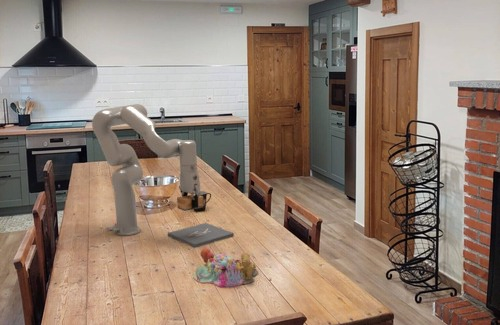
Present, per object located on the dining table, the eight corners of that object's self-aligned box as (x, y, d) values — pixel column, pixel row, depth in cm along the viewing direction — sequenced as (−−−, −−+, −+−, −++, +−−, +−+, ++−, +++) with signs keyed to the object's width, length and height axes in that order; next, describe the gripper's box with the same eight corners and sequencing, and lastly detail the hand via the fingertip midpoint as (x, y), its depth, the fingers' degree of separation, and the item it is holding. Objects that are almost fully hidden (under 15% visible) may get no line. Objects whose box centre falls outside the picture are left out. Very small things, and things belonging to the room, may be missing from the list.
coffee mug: (193, 213, 284) (192, 195, 282) (190, 209, 292) (189, 191, 290) (214, 211, 287) (213, 193, 285) (211, 207, 295) (210, 189, 293)
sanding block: (184, 211, 235) (184, 200, 234) (177, 208, 240) (176, 197, 239) (203, 207, 241) (203, 196, 240) (196, 204, 246) (195, 193, 245)
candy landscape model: (256, 262, 214) (255, 241, 212) (260, 287, 190) (260, 263, 189) (194, 265, 212) (193, 243, 211) (191, 290, 189) (190, 266, 187)
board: (194, 247, 231) (194, 244, 231) (167, 235, 248) (167, 232, 248) (233, 236, 245) (233, 232, 245) (205, 225, 262) (205, 222, 262)
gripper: (206, 169, 233) (208, 208, 236) (184, 164, 246) (186, 201, 249) (192, 171, 228) (194, 211, 232) (171, 166, 241) (173, 204, 245)
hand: (190, 205), depth 241 cm, fingers closed on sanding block, 6 cm apart
